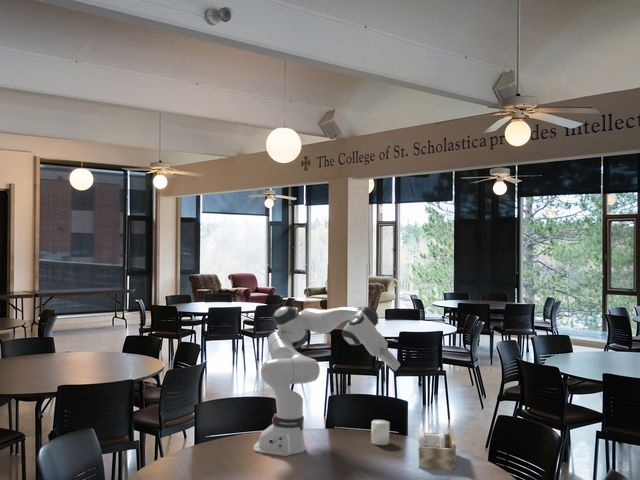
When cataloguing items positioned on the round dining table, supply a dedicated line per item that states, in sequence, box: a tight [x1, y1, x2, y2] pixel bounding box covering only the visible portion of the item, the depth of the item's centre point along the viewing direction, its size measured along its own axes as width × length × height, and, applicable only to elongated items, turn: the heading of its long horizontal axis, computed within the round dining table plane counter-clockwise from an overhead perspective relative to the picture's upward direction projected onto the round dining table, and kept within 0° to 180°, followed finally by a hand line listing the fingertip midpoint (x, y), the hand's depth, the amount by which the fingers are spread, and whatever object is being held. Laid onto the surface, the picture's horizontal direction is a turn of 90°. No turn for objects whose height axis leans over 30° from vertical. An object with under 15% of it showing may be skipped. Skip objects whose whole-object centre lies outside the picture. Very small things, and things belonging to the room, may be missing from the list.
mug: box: [370, 419, 391, 446], centre depth 274 cm, size 8×11×9 cm
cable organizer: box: [417, 427, 445, 455], centre depth 251 cm, size 15×11×12 cm
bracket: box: [418, 428, 457, 471], centre depth 251 cm, size 14×20×10 cm
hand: (395, 368), depth 264 cm, fingers closed
